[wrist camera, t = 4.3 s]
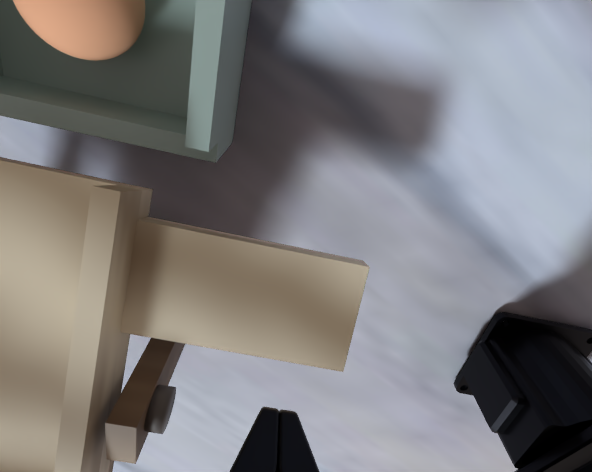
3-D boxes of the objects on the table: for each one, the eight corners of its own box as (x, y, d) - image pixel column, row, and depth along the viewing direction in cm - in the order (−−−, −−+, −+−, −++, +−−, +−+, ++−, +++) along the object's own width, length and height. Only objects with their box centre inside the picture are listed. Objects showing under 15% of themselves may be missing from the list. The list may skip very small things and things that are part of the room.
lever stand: (212, 313, 21) (151, 482, 13) (22, 278, 21) (-175, 434, 12) (220, 257, 20) (156, 410, 11) (13, 216, 19) (-227, 349, 10)
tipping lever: (280, 542, 17) (281, 702, 12) (-40, 499, 16) (-195, 655, 11) (357, 227, 15) (400, 253, 10) (-9, 150, 14) (-186, 131, 9)
